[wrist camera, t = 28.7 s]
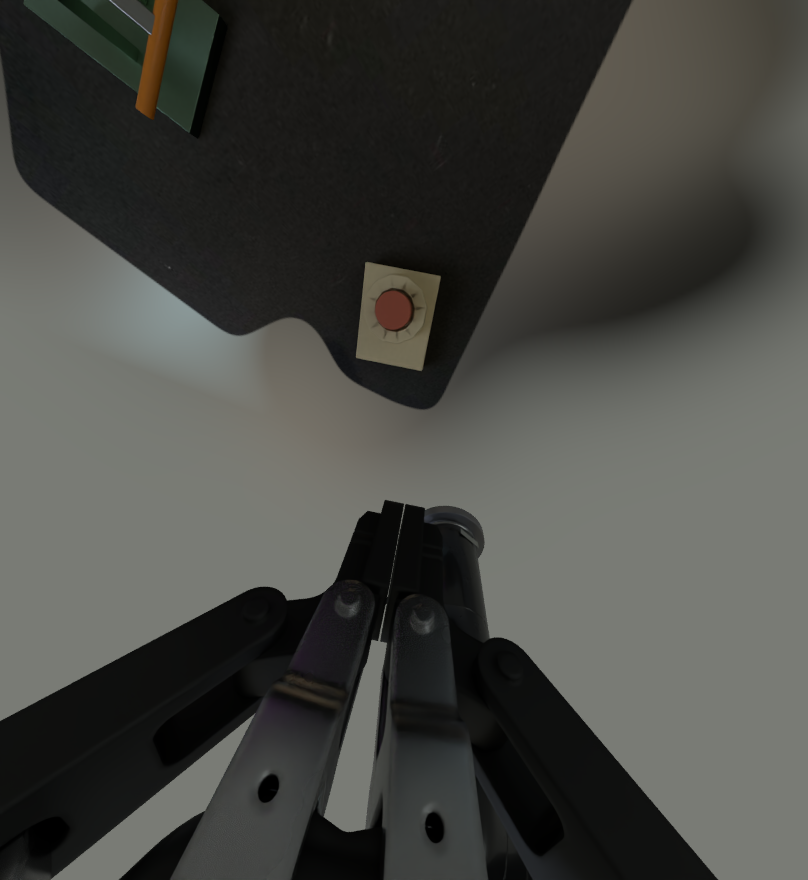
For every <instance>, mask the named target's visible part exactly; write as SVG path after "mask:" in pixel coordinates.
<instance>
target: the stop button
mask: <svg viewBox="0 0 808 880" xmlns="http://www.w3.org/2000/svg"><path fill="white" fill-rule="evenodd" d="M375 314H376V317H377V320H378V321H379V323H380V324H381V325H382V326H383V327H385V328H387V329H390V330H396V329H400V328H402V327H403V326H405V325H406V324H407V323H408V322H409V320H410V318H411V315H412V306H411V302H410V300H409V299H408V297H407V296H406V295H404V294H403V293H401V292H397V291H388V292H385V293H384V294H382V295H381V296H380V297H379V299H378V300H377V303H376V306H375Z"/></svg>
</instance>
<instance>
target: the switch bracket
mask: <svg viewBox="0 0 808 880" xmlns="http://www.w3.org/2000/svg"><path fill="white" fill-rule="evenodd" d="M138 1H139V2H140V3H141V4H142V5H143V6H145V7H146V8H147V9H148V10H149V11H150V12H152V13H153V8H154V2H155V0H138ZM24 5H25V6H26V7H27V8H29V9H30V10H31V11H33V12H34V13H35V14H37V15H38V16H39V17H40V18H42V19H43V20H44V21H46V22H47V23H48V24H49V25H51V26H52V27H53V28H55V29H56V30H57V31H58V32H60V33H61V34H62V35H64V36H65V37H66V38H67V39H69V40H70V41H71V42H73V43H74V44H75V45H76V46H78V47H79V48H80V49H82V50H83V51H84V52H86V53H87V54H88V55H89V56H91V57H92V58H93V59H95V60H96V61H97V62H98V63H100V64H101V65H102V66H104V67H105V68H106V69H107V70H109V71H110V72H111V73H113V74H114V75H115V76H116V77H118V78H119V79H120V80H122V81H123V82H124V83H125V84H127V85H128V86H129V87H131V88H132V89H133V90H135V91H136V92H137V93H138V91H139V85H140V80H141V74H142V68H143V63H144V57H145V52H146V46H147V41H148V35H149V34H147V33H146V32H145V31H144V30H143V29H142V28H140V27H139V26H138V25H137V24H136V23H134V22H133V21H132V20H131V19H130V18H128V17H127V16H126V15H125V14H124V13H122V12H121V11H120V10H119V9H118V8H116V7H115V6H114V5H113V4H112V3H110V2H109V1H108V0H24ZM226 30H227V25H226V23H225V22H224V21H223V19H222V18H221V17H220V15H219V14H218V13H217V12H215V11H214V10H213V9H212V8H211V7H209V6H208V5H207V4H206V3H205V2H204V1H202V0H178V4H177V9H176V14H175V19H174V23H173V28H172V33H171V38H170V43H169V48H168V53H167V58H166V63H165V67H164V72H163V77H162V82H161V87H160V92H159V97H158V102H157V107H156V108H158V109H159V110H160V111H162V112H163V113H164V114H165V115H167V116H168V117H169V118H171V119H172V120H173V121H174V122H176V123H177V124H178V125H180V126H181V127H182V128H184V129H185V130H186V131H187V132H189V133H190V134H192V135H193V136H194V137H196V138H197V139H198V137H199V133H200V130H201V126H202V122H203V118H204V114H205V111H206V107H207V103H208V99H209V95H210V91H211V88H212V84H213V80H214V76H215V72H216V69H217V65H218V61H219V57H220V53H221V49H222V46H223V42H224V38H225V34H226Z"/></svg>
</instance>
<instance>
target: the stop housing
mask: <svg viewBox="0 0 808 880" xmlns="http://www.w3.org/2000/svg"><path fill="white" fill-rule="evenodd" d="M440 279H441V276H438V275H432V274H427V273H422V272H417V271H411V270H406V269H401V268H396V267H390V266H385V265H380V264H375V263H369V262H366V265H365V275H364V284H363V294H362V304H361V314H360V323H359V333H358V343H357V353H356V358H359V359H364V360H369V361H374V362H379V363H384V364H389V365H394V366H399V367H404V368H409V369H414V370H419V371H422V369H423V364H424V359H425V354H426V349H427V344H428V339H429V334H430V329H431V324H432V319H433V314H434V309H435V304H436V299H437V294H438V289H439V284H440ZM388 291H397V292H401V293H403V294H404V295H406V296H407V297H408V299H409V300H410V302H411V306H412V315H411V318H410V320H409V322H408V323H407V324H406V325H405V326H403V327H402V328H400V329H396V330H390V329H387V328H385V327H383V326H382V325H381V324H380V323H379V321H378V320H377V317H376V314H375V306H376V303H377V300H378V299H379V297H380V296H381V295H382V294H384V293H385V292H388Z"/></svg>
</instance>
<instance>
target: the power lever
mask: <svg viewBox="0 0 808 880" xmlns="http://www.w3.org/2000/svg"><path fill="white" fill-rule="evenodd" d="M108 1H109V2H110V3H112V4H113V5H114V6H115V7H116V8H118V9H119V10H120V11H121V12H122V13H124V14H125V15H126V16H127V17H128V18H130V19H131V20H132V21H133V22H134V23H136V24H137V25H138V26H139V27H140V28H142V29H143V30H144V31H145V32H146V33H147V34H149V35H148V41H147V46H146V52H145V57H144V63H143V68H142V74H141V80H140V85H139V91H138V96H137V102H136V108H137V109H138V110H139V111H140V112H142V113H143V114H144V115H146V116H147V117H149V118H150V119H152V120H154V116H155V111H156V107H157V102H158V97H159V92H160V87H161V82H162V77H163V72H164V67H165V63H166V58H167V53H168V48H169V43H170V38H171V33H172V28H173V23H174V19H175V14H176V9H177V4H178V0H155V2H154V8H153V13H152V12H150V11H149V10H148V9H147V8H146V7H145V6H143V5H142V4H141V3H140V2H139V1H138V0H108Z"/></svg>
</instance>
